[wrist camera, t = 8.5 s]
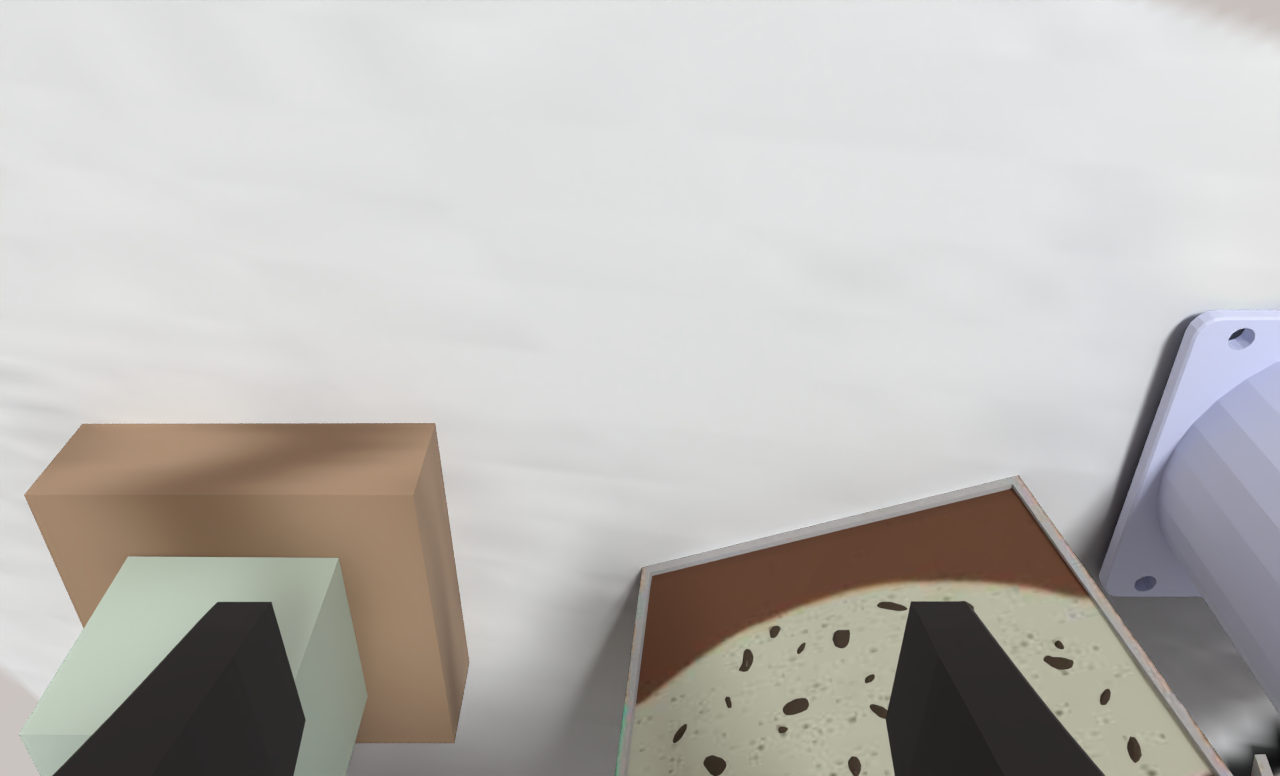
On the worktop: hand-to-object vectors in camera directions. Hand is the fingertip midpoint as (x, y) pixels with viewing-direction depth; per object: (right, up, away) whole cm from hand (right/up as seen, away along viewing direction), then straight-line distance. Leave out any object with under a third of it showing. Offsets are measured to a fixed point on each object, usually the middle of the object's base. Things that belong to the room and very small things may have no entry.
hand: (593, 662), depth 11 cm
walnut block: (-8, -1, +14) cm, 16 cm away
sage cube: (-8, -2, +11) cm, 14 cm away
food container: (+6, -2, +14) cm, 16 cm away
